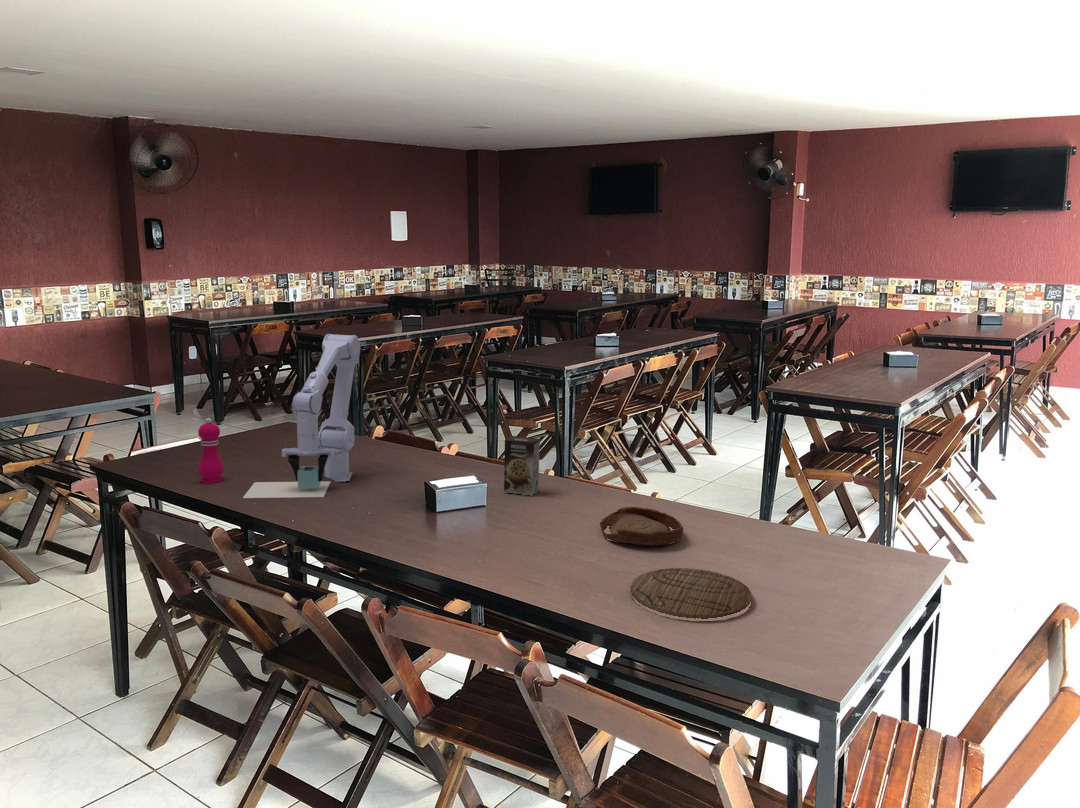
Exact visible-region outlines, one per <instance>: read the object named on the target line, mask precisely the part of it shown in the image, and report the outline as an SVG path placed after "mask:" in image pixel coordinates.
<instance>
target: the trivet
mask: <svg viewBox="0 0 1080 808" xmlns="http://www.w3.org/2000/svg"><path fill="white" fill-rule="evenodd" d="M631 592H632V596H633V597H634V598H635V599H636V600H637V601H638V602H639V603H641V604H642V605H644V606H646V607H648V608H650V609H653V610H656V611H658V612H661V613H665V614H669V615H673V616H678V617H686V618H695V619H696V618H698V619H699V618H701V619H708V618H717V617H723V616H727V615H731V614H734V613H737V612H740V611H741V610H743V609H745V608H746V607H747V606H748V605H749V604H750V602H751V603H752V599H753V598H752V596H753V594H752V592H751V590H750V588H749V587H748V586H746V585H745V584H744V583H743V582H742V581H740V580H738V579H735V578H734V577H732V576H730V575H727V574H723V573H719V572H716V571H711V570H707V569H706V570H705V569H697V568H691V567H688V568H687V567H686V568H685V567H684V568H683V567H681V568H680V567H671V568H660V569H656V570H652V571H648V572H645V573H643V574H640V575H638V576H637V577H636V578H635V579H634V580H632V583H631V585H630V593H631ZM632 596H631V597H632Z"/></svg>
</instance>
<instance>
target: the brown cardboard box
mask: <svg viewBox="0 0 1080 808" xmlns="http://www.w3.org/2000/svg"><path fill="white" fill-rule="evenodd" d="M540 444H541V438H537V437H536V438H535V437H527V436H515V435H511V436H509V437H507V438H505V439H504V455H503V456H504V459H503V460H504V461H503V463H504V464H503V465H504V466H503V469H504V470H503V472H504V473H503V474H504V475H503V494H507V493H514V494H513V495H516V494H525V495H533V494H535V493H536V492H537V491H538V490H539V479H540V474H539V473H540ZM539 491H540V490H539ZM539 491H538V492H539ZM538 492H537V493H538ZM537 493H536V494H537ZM536 494H535V495H536ZM525 495H524V496H525ZM533 496H534V495H533Z"/></svg>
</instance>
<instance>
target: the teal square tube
mask: <svg viewBox="0 0 1080 808" xmlns="http://www.w3.org/2000/svg"><path fill="white" fill-rule="evenodd" d="M297 476H298V481H297V482H298V488H318V487H319V485H320V483H321V481H319V465H309V466H308V465H306V466H305V465H302V466H300V465H299V469H298V471H297Z"/></svg>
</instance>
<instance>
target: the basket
mask: <svg viewBox="0 0 1080 808" xmlns="http://www.w3.org/2000/svg"><path fill="white" fill-rule="evenodd" d="M599 525H600V530H601V533H603V534H602V535H603V537H604V536H605V537H606V538H608V539H610V540H612V541H616V542H615V543H617V542H623V544H624V543H625V544H634V545H636V546H637V545H638V546H667V545H666V544H668V545H671V544H670V543H673V542H676V541H677V540H678V541H679V540H680V539H681V538H682V537H683V534H684V526H683V525H682V523H681V522H680V521H679V520H678V519H677V518H675V517H674V516H672V515H670V514H667V513H666V512H661V511H659V510H657V509H652V508H648V507H642V506H639V507H638V506H623V507H621V508H619V509H617V510H616V511H613V512H612V513H610V514H608V515H607V516H605V517H603V518H602V519H601V520H600V522H599ZM607 526H610V527H609V529H610V532H611V534H606V533H605V532H604V530H605V529H606V528H607ZM669 527H671V528H672V529H674V530H672V531H671V530H670V528H669ZM605 537H604V538H605ZM606 538H605V539H606ZM678 541H677V542H678ZM677 542H676V543H677ZM673 544H674V543H673Z"/></svg>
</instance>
